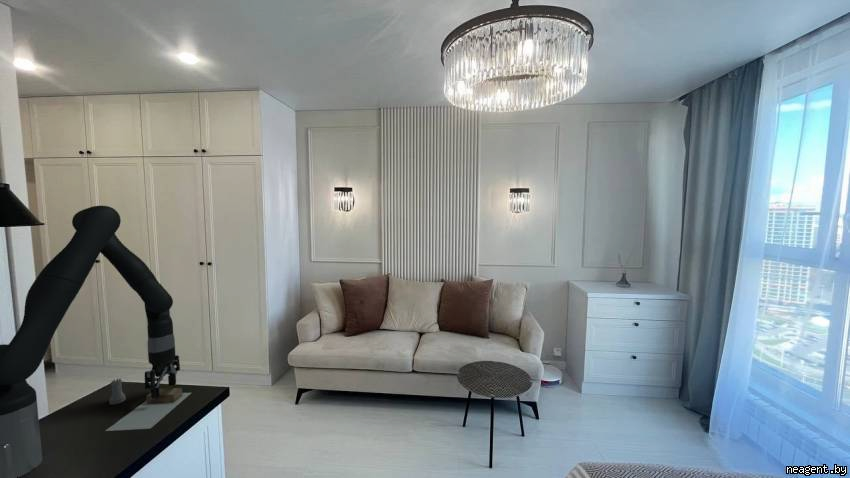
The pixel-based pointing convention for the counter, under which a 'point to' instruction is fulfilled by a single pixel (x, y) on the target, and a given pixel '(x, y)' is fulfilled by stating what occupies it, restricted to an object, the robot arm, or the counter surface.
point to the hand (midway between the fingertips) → (164, 391)
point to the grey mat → (145, 415)
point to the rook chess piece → (117, 392)
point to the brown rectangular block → (166, 396)
